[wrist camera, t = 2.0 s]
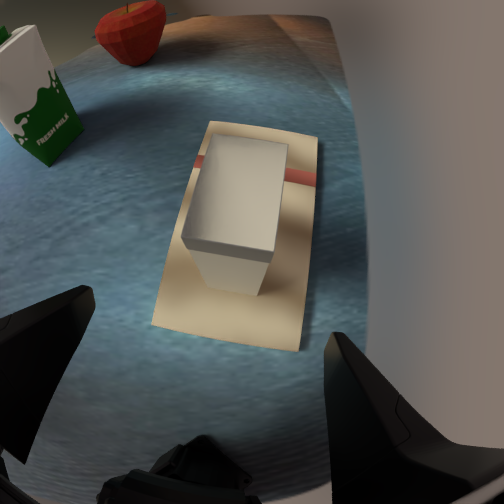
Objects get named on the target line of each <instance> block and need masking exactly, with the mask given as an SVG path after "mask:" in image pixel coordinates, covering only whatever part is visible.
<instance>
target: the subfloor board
mask: <svg viewBox="0 0 504 504" xmlns="http://www.w3.org/2000/svg"><path fill="white" fill-rule="evenodd" d="M212 133H214V134H223V135H232V136H240V137H247V138H254V139H260V140H267V141H273V142H279V143H284V144H289V146H288V154H287V163H286V171H285V179H284V186H283V194H282V202H281V209H280V217H279V224H278V231H277V239H276V246H275V253H274V255H273V258H272V260H271V263H269V265H268V267H267V270H266V273H265V275H264V278H263V281H262V283H261V286H260V289H259V291H258V294H257V296H254V295H248V294H242V293H236V292H230V291H225V290H219V289H214V288H208V287H207V285H206V283H205V281H204V279H203V277H202V275H201V273H200V271H199V269H198V267H197V265H196V263H195V261H194V259H193V257H192V255H191V253H190V251H189V249H186V247H185V245H184V243H183V241H182V239H181V233H182V229H183V226H184V222H185V219H186V215H187V212H188V208H189V205H190V201H191V198H192V195H193V191H194V188H195V185H196V181H197V178H198V175H199V172H200V169H201V166H202V163H203V160H204V156H205V153H206V150H207V148H208V145H209V142H210V139H211V136H212ZM317 141H318V137H313V136H308V135H303V134H298V133H293V132H288V131H282V130H277V129H271V128H265V127H258V126H251V125H244V124H236V123H227V122H218V121H210V123H209V126H208V128H207V131H206V134H205V136H204V139H203V142H202V145H201V148H200V150H199V153H198V155H197V158H196V161H195V164H194V167H193V171H192V174H191V177H190V180H189V183H188V186H187V189H186V192H185V195H184V199H183V202H182V205H181V209H180V212H179V215H178V219H177V222H176V226H175V229H174V233H173V236H172V240H171V244H170V247H169V251H168V255H167V259H166V263H165V267H164V271H163V275H162V279H161V283H160V288H159V292H158V296H157V301H156V305H155V310H154V315H153V320H152V325H154V326H158V327H162V328H166V329H170V330H175V331H179V332H183V333H188V334H193V335H197V336H202V337H207V338H212V339H218V340H223V341H228V342H234V343H240V344H246V345H252V346H259V347H265V348H272V349H280V350H287V351H296V352H298V351H299V344H300V337H301V330H302V323H303V315H304V307H305V299H306V291H307V282H308V273H309V263H310V253H311V242H312V230H313V218H314V203H315V187H316V168H317Z"/></svg>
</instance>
